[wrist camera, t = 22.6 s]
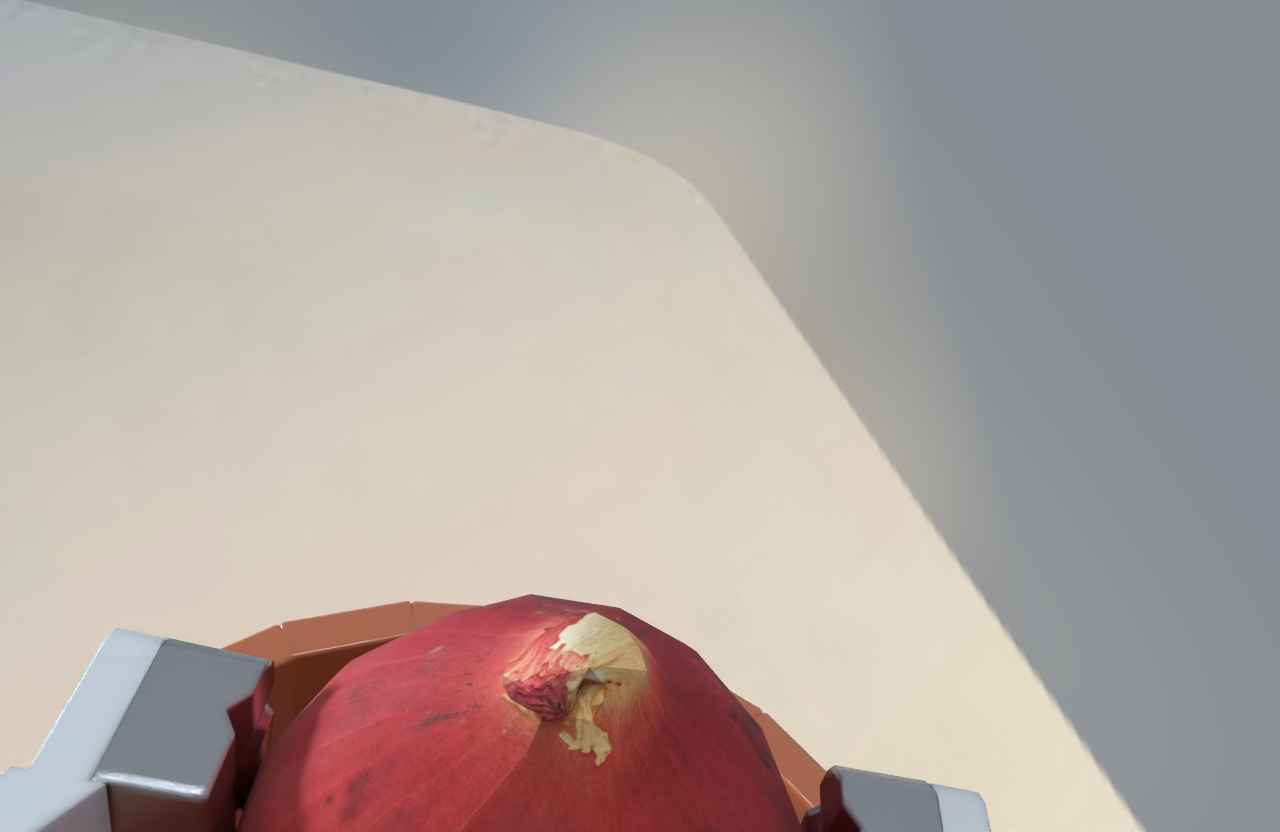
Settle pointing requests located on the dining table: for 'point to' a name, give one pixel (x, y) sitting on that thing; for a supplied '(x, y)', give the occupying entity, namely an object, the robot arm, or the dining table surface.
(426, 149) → the dining table surface
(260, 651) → the terracotta bowl
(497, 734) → the onion
